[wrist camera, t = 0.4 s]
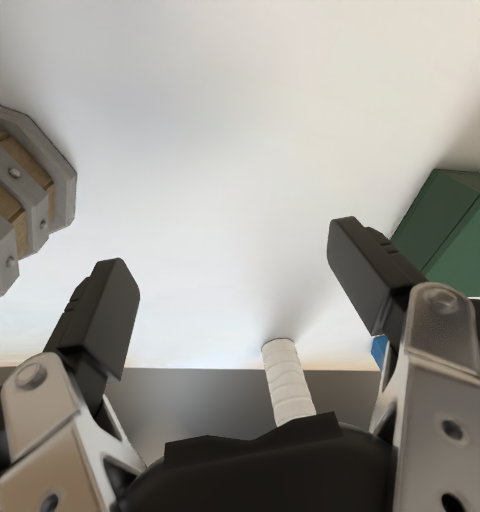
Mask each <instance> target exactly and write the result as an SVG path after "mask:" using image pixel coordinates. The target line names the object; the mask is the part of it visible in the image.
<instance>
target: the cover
mask: <svg viewBox="0 0 480 512" xmlns="http://www.w3.org/2000/svg"><path fill="white" fill-rule="evenodd" d="M421 273H422V274H423V275H424V276H425V277H426V278H427V279H428V280H429V281H430V282H436V283H442V284H445V285H448V286H451V287H453V288H455V289H457V290H459V291H460V292H462V293H463V294H464V295H466V296H467V297H480V197H479V198H478V199H477V200H476V202H475V203H474V204H473V206H472V207H471V208H470V209H469V211H468V212H467V213H466V215H465V216H464V217H463V218H462V220H461V221H460V222H459V224H458V225H457V226H456V228H455V229H454V230H453V231H452V233H451V234H450V235H449V237H448V238H447V239H446V240H445V242H444V243H443V244H442V246H441V247H440V248H439V249H438V251H437V252H436V253H435V255H434V256H433V257H432V258H431V260H430V261H429V262H428V264H427V265H426V266H425V267H424V269H423V270H422V271H421Z"/></svg>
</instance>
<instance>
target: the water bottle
mask: <svg viewBox="0 0 480 512" xmlns="http://www.w3.org/2000/svg"><path fill="white" fill-rule="evenodd" d="M262 357H263V361H264V366H265V371H266V374H267V381H268V384H269V391H270V394H271V400H272V405H273V408H274V416H275V420H276V425H277V427H279V426H281V425H283V424H285V423H286V422H288V421H290V420H292V419H296V418H301V417H307V416H312V415H316V411H315V408H314V405H313V403H312V401H311V395H310V392H309V390H308V388H307V383H306V381H305V377H304V373H303V370H302V368H301V364H300V360H299V358H298V355H297V351H296V348H295V345H294V343H293V342H292V341H290V340H289V339H275V340H273V341H272V342H271V341H270V342H268V343H266V344H265V345H264V346H263V348H262Z"/></svg>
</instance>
